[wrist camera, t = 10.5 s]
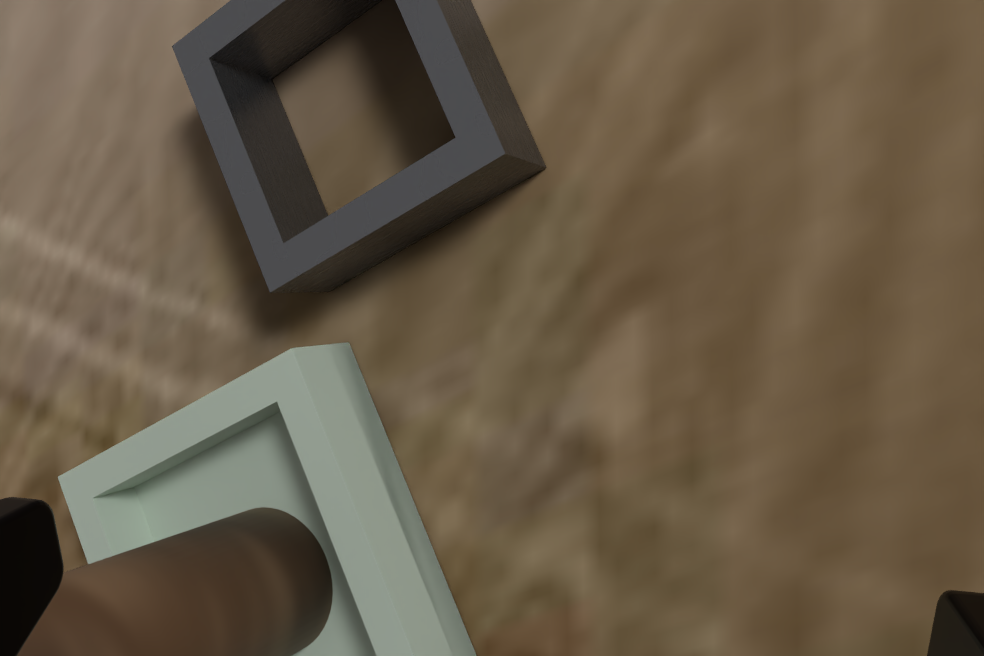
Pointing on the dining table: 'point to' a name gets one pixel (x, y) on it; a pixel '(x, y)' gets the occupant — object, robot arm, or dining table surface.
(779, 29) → the dining table surface
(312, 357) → the tray
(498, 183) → the socket
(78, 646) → the key peg
